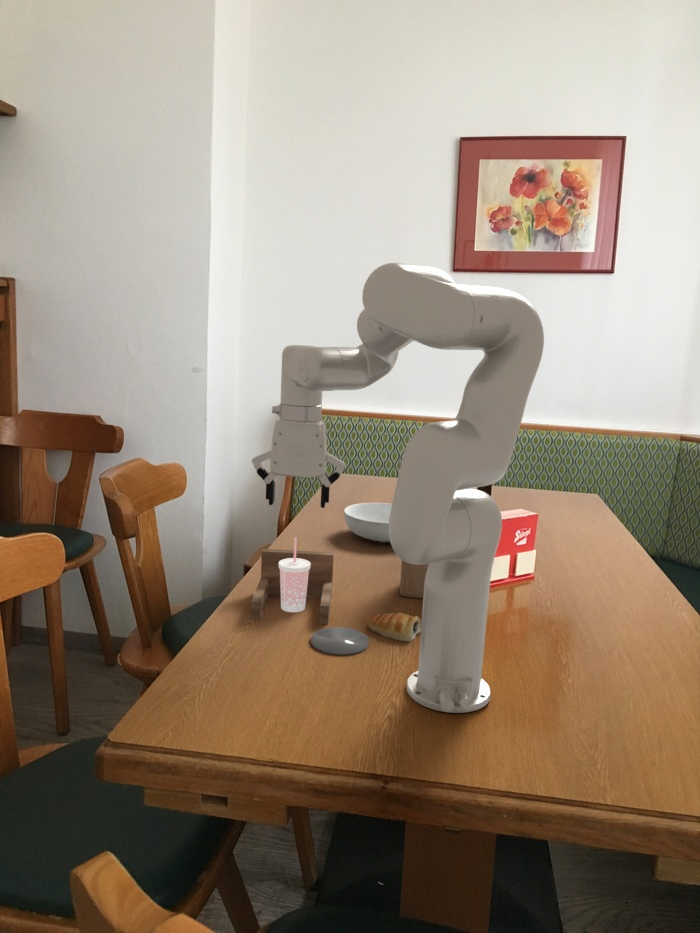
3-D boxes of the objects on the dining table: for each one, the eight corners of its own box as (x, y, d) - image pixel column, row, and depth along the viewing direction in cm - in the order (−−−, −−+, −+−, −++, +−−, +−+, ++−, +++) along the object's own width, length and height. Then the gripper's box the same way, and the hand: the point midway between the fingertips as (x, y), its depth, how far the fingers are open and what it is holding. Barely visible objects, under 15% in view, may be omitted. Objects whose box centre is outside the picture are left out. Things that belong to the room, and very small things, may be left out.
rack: (328, 624, 137) (330, 577, 135) (250, 619, 137) (251, 573, 136) (331, 595, 152) (333, 552, 150) (261, 591, 152) (262, 548, 150)
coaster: (368, 656, 125) (368, 653, 125) (308, 653, 125) (308, 649, 125) (368, 631, 135) (368, 628, 135) (312, 628, 135) (313, 625, 135)
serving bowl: (427, 552, 183) (429, 525, 182) (341, 547, 183) (342, 520, 182) (421, 528, 204) (422, 504, 202) (344, 524, 204) (345, 500, 202)
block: (448, 603, 150) (455, 506, 146) (398, 597, 152) (404, 501, 148) (451, 586, 160) (458, 495, 156) (405, 581, 162) (411, 490, 158)
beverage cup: (315, 608, 144) (318, 538, 142) (292, 616, 140) (295, 544, 137) (293, 599, 148) (295, 531, 146) (270, 607, 144) (272, 536, 141)
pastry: (361, 634, 134) (362, 614, 134) (374, 621, 140) (376, 602, 140) (411, 645, 131) (413, 624, 130) (422, 631, 137) (424, 611, 136)
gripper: (250, 414, 133) (248, 507, 137) (347, 419, 133) (342, 512, 137) (256, 408, 141) (254, 497, 144) (348, 413, 141) (344, 502, 144)
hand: (297, 504), depth 140 cm, fingers open, 9 cm apart
